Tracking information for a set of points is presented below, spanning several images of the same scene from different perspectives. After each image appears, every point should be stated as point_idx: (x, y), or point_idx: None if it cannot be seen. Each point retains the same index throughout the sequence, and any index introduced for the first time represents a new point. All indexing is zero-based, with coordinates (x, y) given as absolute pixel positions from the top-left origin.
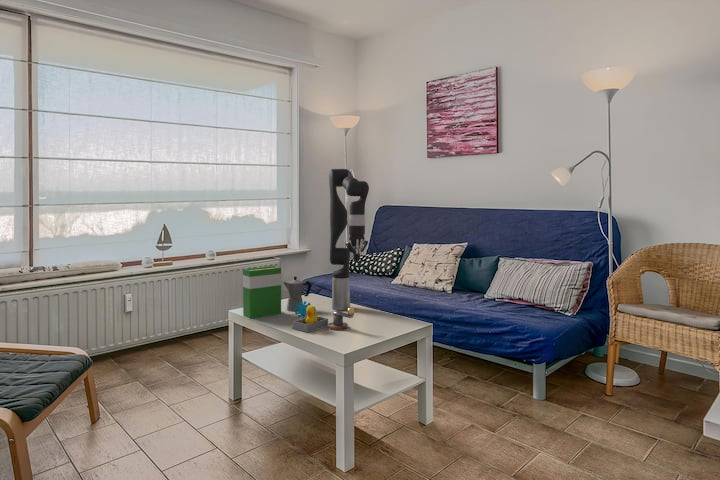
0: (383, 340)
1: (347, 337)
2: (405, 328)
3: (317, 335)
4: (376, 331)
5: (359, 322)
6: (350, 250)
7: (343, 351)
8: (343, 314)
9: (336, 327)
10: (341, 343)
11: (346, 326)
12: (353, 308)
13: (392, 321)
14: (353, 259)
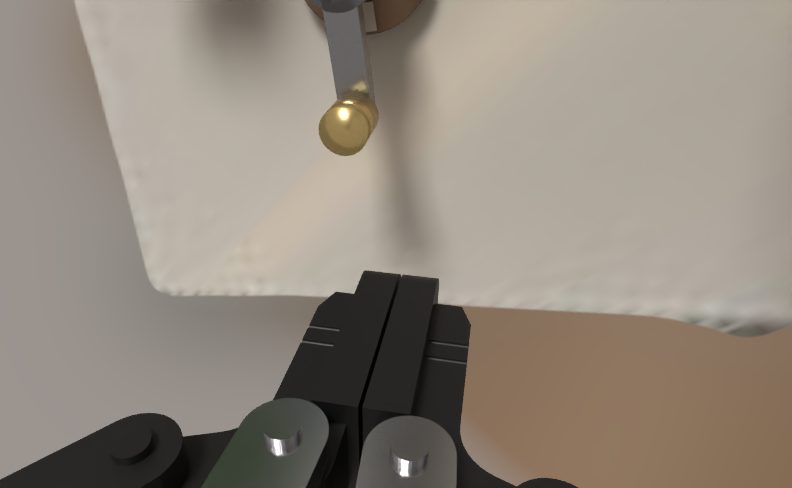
0: None
1: (286, 156)
2: (662, 269)
3: (163, 7)
4: (489, 193)
5: None
6: (87, 486)
7: (163, 273)
8: (330, 51)
9: (310, 7)
10: (208, 201)
11: (385, 29)
12: (355, 147)
13: (777, 118)
14: (323, 304)
